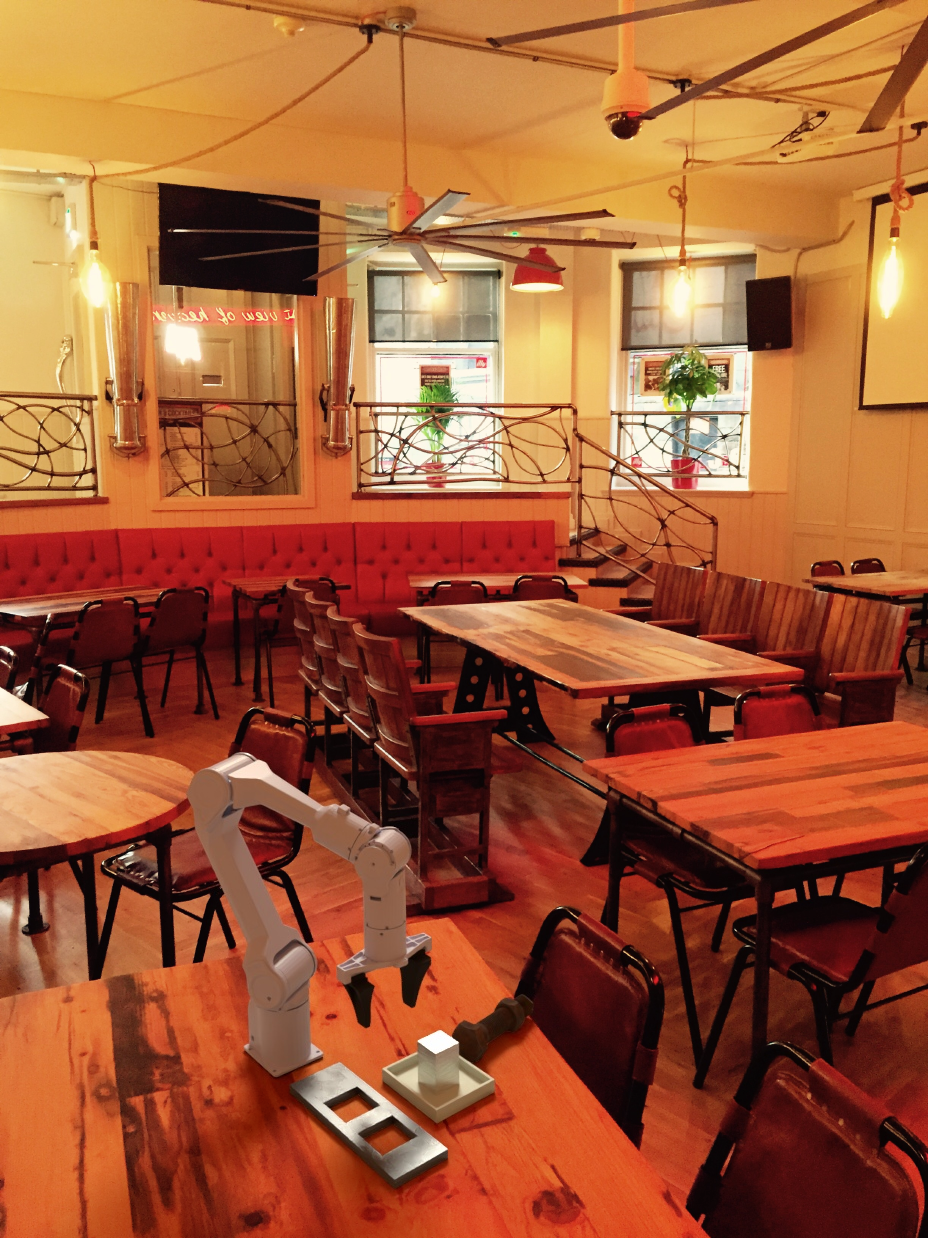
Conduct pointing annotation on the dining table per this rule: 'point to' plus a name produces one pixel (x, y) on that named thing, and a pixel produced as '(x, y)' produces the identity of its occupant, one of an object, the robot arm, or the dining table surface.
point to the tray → (447, 1103)
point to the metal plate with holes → (369, 1124)
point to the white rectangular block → (438, 1062)
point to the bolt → (491, 1027)
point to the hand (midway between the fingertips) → (386, 1014)
